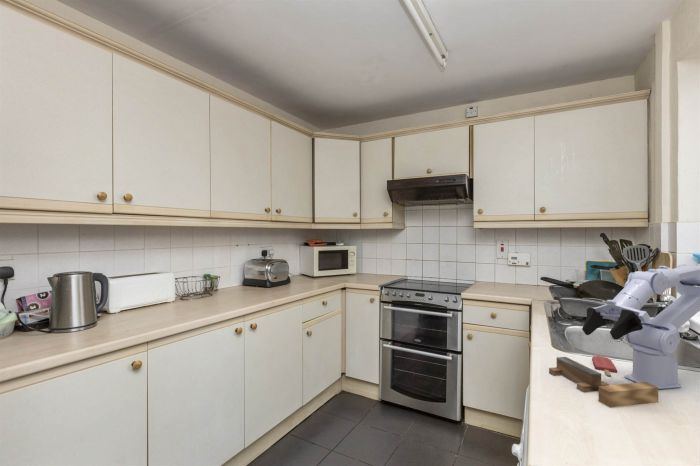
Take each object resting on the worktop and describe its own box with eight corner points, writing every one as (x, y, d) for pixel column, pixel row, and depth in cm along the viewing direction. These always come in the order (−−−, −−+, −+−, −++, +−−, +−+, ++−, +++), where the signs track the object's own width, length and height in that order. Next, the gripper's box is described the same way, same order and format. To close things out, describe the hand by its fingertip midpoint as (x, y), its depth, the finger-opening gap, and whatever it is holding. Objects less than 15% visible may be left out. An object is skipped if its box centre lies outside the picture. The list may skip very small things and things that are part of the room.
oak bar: (645, 397, 86) (645, 381, 86) (658, 403, 83) (658, 387, 83) (598, 402, 83) (598, 386, 83) (609, 408, 80) (609, 392, 80)
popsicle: (597, 370, 99) (590, 354, 112) (597, 376, 99) (590, 359, 112) (620, 374, 96) (610, 357, 109) (620, 380, 96) (610, 362, 109)
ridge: (572, 371, 101) (572, 356, 101) (609, 389, 89) (609, 373, 89) (549, 372, 100) (549, 357, 100) (583, 392, 88) (583, 375, 88)
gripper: (594, 289, 97) (565, 318, 93) (649, 290, 83) (617, 324, 79) (608, 309, 97) (580, 339, 93) (665, 313, 83) (634, 348, 79)
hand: (598, 334), depth 86 cm, fingers open, 7 cm apart
